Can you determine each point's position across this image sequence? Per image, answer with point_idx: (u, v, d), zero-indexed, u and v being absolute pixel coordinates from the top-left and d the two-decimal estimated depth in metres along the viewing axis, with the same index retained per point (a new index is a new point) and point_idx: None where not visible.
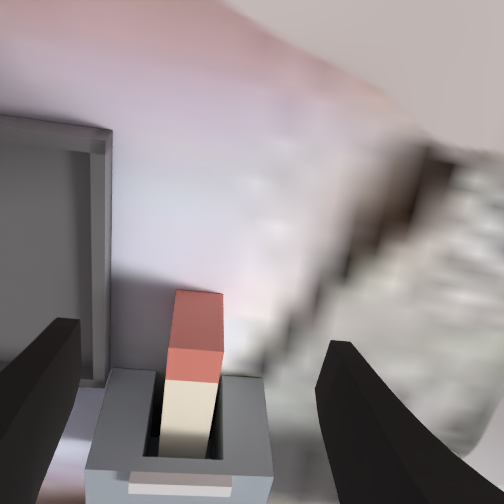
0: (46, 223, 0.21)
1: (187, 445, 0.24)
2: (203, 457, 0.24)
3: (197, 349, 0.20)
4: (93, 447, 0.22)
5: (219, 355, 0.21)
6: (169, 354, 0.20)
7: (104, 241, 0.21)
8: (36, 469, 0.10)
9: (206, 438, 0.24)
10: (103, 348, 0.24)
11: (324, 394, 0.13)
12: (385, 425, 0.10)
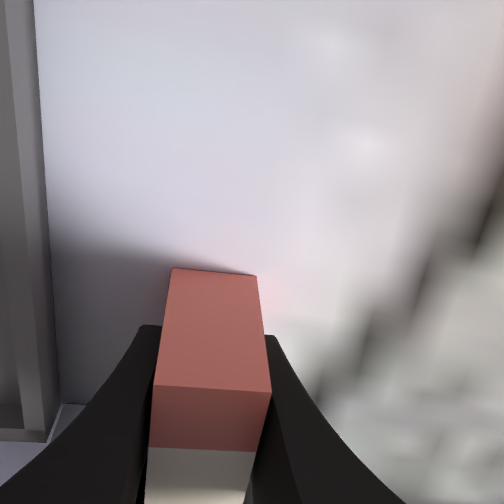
0: None
1: None
2: None
3: (214, 388, 0.10)
4: None
5: (262, 399, 0.10)
6: (156, 398, 0.10)
7: (18, 158, 0.10)
8: (138, 473, 0.11)
9: None
10: (36, 375, 0.13)
11: None
12: (283, 419, 0.10)
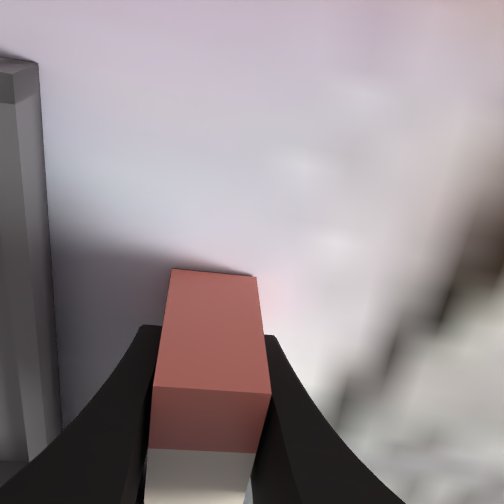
0: None
1: None
2: None
3: (214, 389, 0.10)
4: None
5: (261, 400, 0.10)
6: (156, 399, 0.10)
7: (30, 272, 0.11)
8: (138, 473, 0.11)
9: None
10: (43, 442, 0.14)
11: None
12: (283, 419, 0.10)
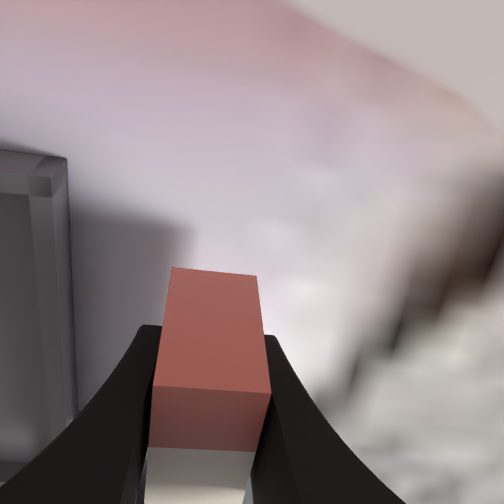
0: None
1: None
2: None
3: (214, 389, 0.10)
4: None
5: (261, 400, 0.10)
6: (155, 399, 0.10)
7: (58, 316, 0.14)
8: (138, 473, 0.11)
9: None
10: None
11: None
12: (283, 419, 0.10)
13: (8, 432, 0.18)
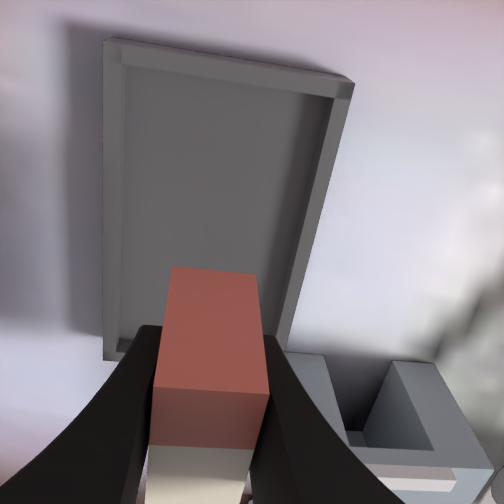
0: (253, 184, 0.19)
1: None
2: None
3: (213, 390, 0.10)
4: None
5: (260, 400, 0.10)
6: (156, 399, 0.10)
7: (322, 204, 0.18)
8: (138, 473, 0.11)
9: None
10: (288, 327, 0.22)
11: None
12: (283, 419, 0.10)
13: None
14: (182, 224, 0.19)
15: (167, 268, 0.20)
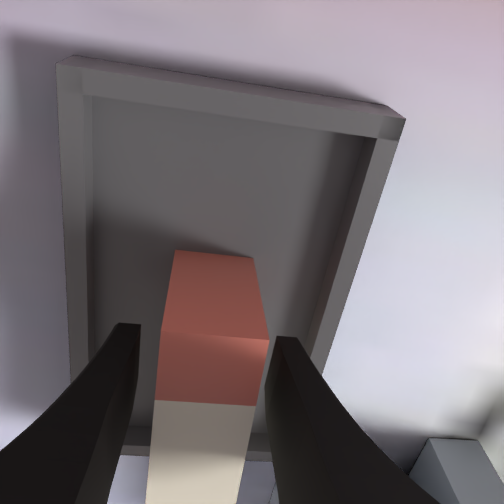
0: (264, 243, 0.14)
1: None
2: None
3: (217, 335, 0.10)
4: None
5: (260, 347, 0.11)
6: (163, 345, 0.10)
7: (354, 270, 0.14)
8: (109, 472, 0.10)
9: None
10: None
11: (270, 390, 0.13)
12: (314, 421, 0.10)
13: None
14: None
15: (153, 343, 0.16)
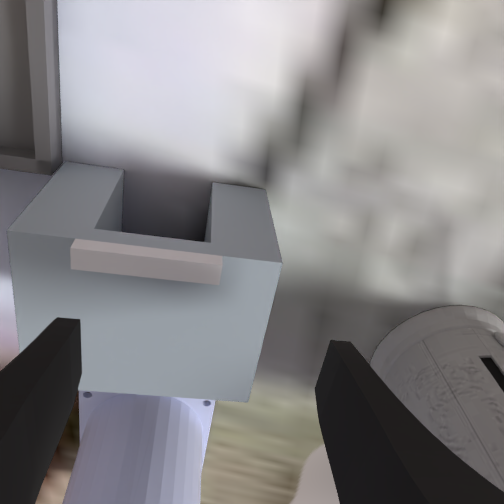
0: None
1: None
2: None
3: None
4: (25, 214, 0.15)
5: None
6: None
7: None
8: (36, 469, 0.10)
9: None
10: (46, 101, 0.17)
11: (324, 394, 0.13)
12: (385, 425, 0.10)
13: None
14: None
15: None
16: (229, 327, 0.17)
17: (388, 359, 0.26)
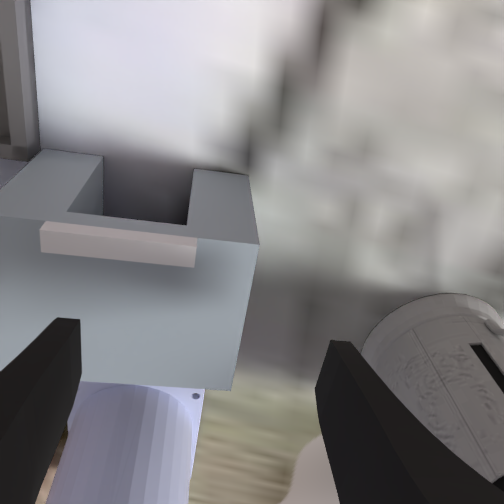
0: None
1: None
2: None
3: None
4: None
5: None
6: None
7: None
8: (36, 469, 0.10)
9: None
10: (19, 85, 0.17)
11: (324, 394, 0.13)
12: (385, 425, 0.10)
13: None
14: None
15: None
16: (207, 312, 0.17)
17: (378, 349, 0.26)
